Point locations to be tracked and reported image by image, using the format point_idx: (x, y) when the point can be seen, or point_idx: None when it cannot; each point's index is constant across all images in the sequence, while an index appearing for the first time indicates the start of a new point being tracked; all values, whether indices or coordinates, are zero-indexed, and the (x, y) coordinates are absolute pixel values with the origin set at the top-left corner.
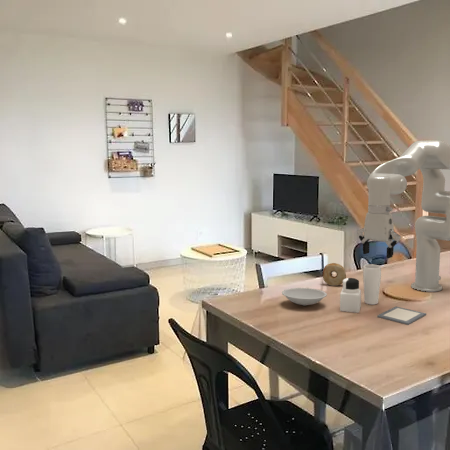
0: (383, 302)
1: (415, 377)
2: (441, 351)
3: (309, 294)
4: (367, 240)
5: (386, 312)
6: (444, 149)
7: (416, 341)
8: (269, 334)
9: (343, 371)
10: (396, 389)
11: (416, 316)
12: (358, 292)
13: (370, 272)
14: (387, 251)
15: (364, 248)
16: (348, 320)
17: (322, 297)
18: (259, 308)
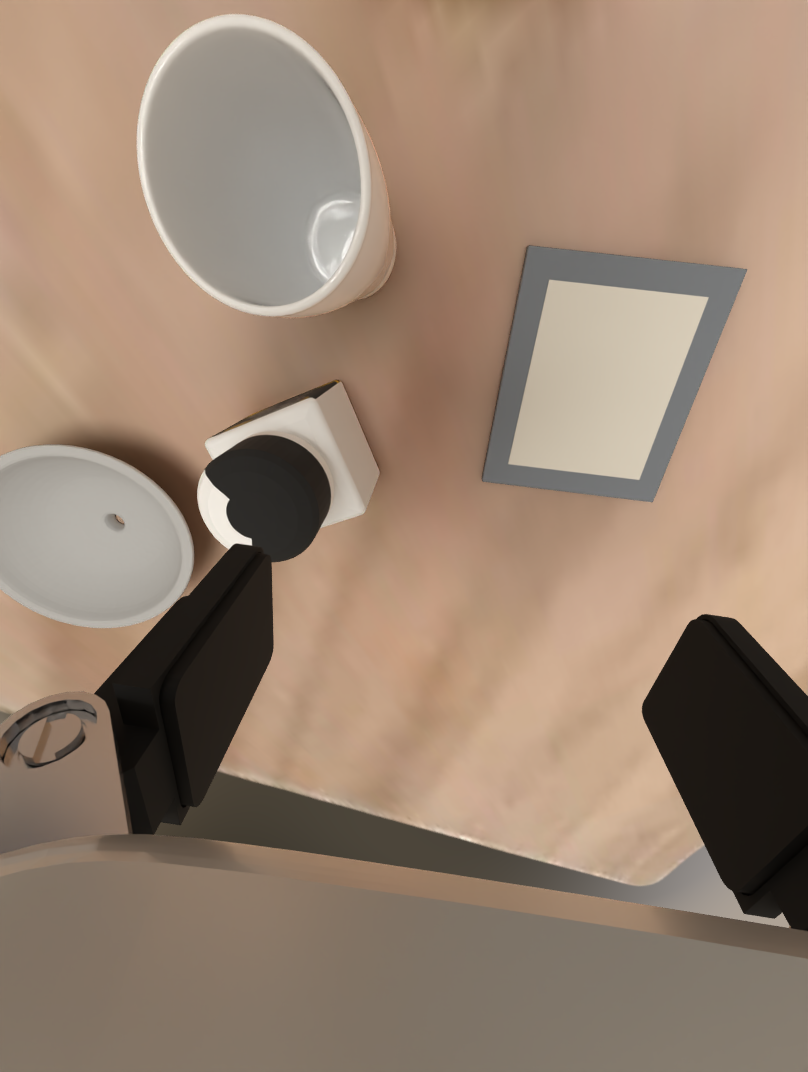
0: (413, 168)
1: None
2: (795, 675)
3: (62, 468)
4: (91, 789)
5: (509, 407)
6: None
7: None
8: (266, 778)
9: (539, 850)
10: (671, 867)
11: (686, 372)
12: (338, 478)
13: (308, 314)
14: (708, 819)
15: (226, 729)
16: (390, 582)
17: (193, 557)
18: (50, 639)
